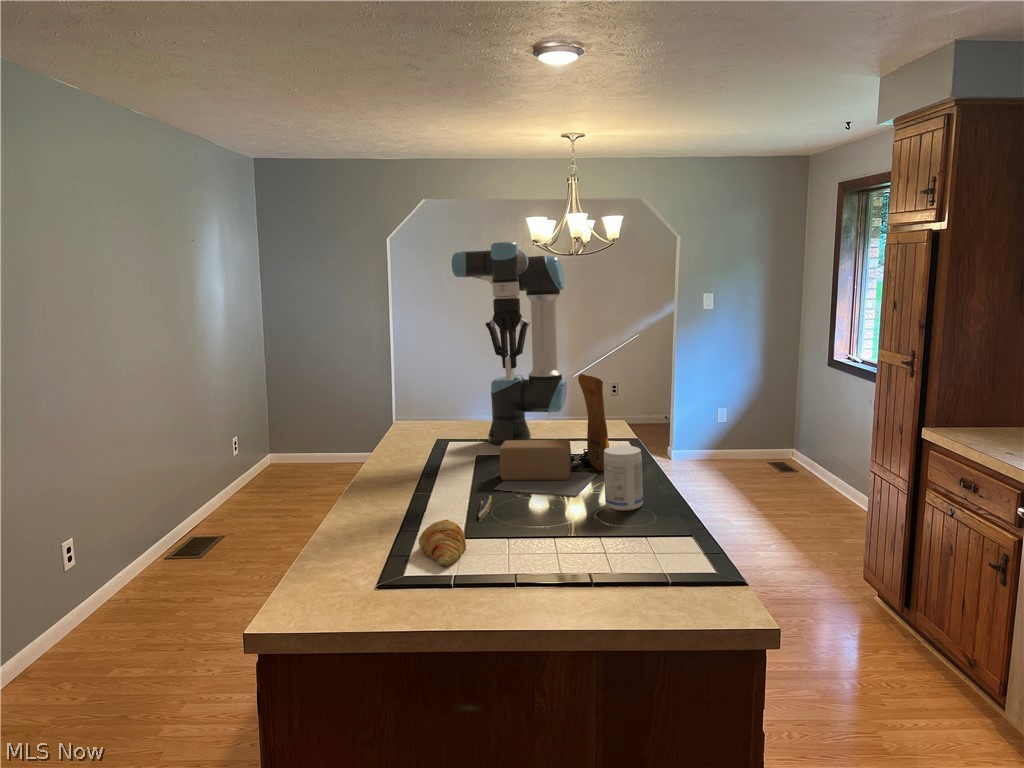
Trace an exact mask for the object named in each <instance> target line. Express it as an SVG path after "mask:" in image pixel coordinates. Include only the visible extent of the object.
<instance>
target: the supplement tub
mask: <svg viewBox="0 0 1024 768" xmlns="http://www.w3.org/2000/svg"><path fill="white" fill-rule="evenodd" d="M641 451H642V450H641V448H639V447H637V446H632V445H614V446H609V448H606V449H605V450H604V471H603V473H604V474H603V475H604V476H603V478H604V479H603V480H604V498H605V499H604V500H605V505H606V506H607V508H610V509H611V510H614V511H622V512H623V511H624V512H625V511H632V510H633V511H634V510H636V509H639V508H640V507H642V506H643V503H644V496H643V494H644V491H643V486H644V485H643V462H642V461H643V460H642V459H643V458H642V452H641Z"/></svg>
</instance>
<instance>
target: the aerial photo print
mask: <svg viewBox="0 0 1024 768" xmlns="http://www.w3.org/2000/svg"><path fill="white" fill-rule="evenodd" d="M492 496H493V495H484V497H483V500H481V502H480V505H479V510H478V518H479V520H478V523H480V522H481V521H482V520H483V519H484V518H485V517H486V515H487V514H488V512H489V510H490V507H491V502H492ZM514 496H516V497H522V496H524V497H529V498H527V499H531V498H532V494H530V495H529V494H525V495H524V494H523V495H522V494H518V495H517V494H515V495H514V494H513V497H514ZM516 497H515V498H516ZM527 499H526V500H527ZM481 523H482V522H481Z"/></svg>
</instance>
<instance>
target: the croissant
mask: <svg viewBox="0 0 1024 768" xmlns="http://www.w3.org/2000/svg"><path fill="white" fill-rule="evenodd" d="M418 545H419V548H420V549H421V550H422V551H423V553H424V554H425V555H427V557H429V558H431V559H432V560H433V561H435V562H437V563H438V564H439V565H441V566H443V567H446V566H449V565H452V564H453V563H455V562H456V561H458V559H459V558H460V557H461V556H462V555H463V553H465V552H466V550H467V541H466V536H465V534H464V531H463V529H462V528H461V527H460V526H459V525H458V523H456V522H454V521H452V520H449V519H442V520H439V521H436V522H434V523H431V524H430V525H429V526H428V527H426V529H424V530H423V531H422V533H421V534H420V536H419V537H418Z"/></svg>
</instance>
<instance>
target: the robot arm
mask: <svg viewBox="0 0 1024 768" xmlns="http://www.w3.org/2000/svg"><path fill="white" fill-rule="evenodd" d="M451 271H452V273H453V275H454V277H457V278H474V279H478V280H482V281H486V282H488V283H489V284H491V285H492V295H493V297H494V299H493V300H492V303H493V305H492V306H493V316H492V319H491V320H489V321H488V322H485V326H486V329H487V330H488V332H489V335H490V339H491V342H492V346H493V351H494V353H495V355H496V356H499V357H501V360H502V362H501V363H502V369H505V376H501V377H498V378H494V379H493V380H492V381H491V384H490V385H491V386H490V388H491V389H490V394H491V395H490V396H491V398H490V399H491V412H492V413H491V416H492V418H491V419H492V420H491V425H490V428H489V433H488V443H489V444H492V445H496V446H497V445H498V446H502V444H503V442H504V441H506V440H532V437H531V436H532V435H531V432H530V429H529V426H528V423H527V421H526V413H547V414H550V413H559V412H561V411H562V410H563V408H564V406H565V404H566V400H567V399H566V398H567V390H568V382H567V381H568V380H566V379H565V378H563V375H562V372H561V371H560V370H559V369H558V347H557V346H558V344H557V341H558V340H557V303H556V301H557V299H558V298H559V297H560V295H561V291H562V290H564V289H565V274H564V269H563V265H562V263H561V260H560V258H559V257H557V256H556V255H546V254H545V255H537V256H535V255H534V256H533V255H532V256H528V255H527V254H526V252H524V251H523V250H521V249H518V244H517V243H516V241H504V242H503V241H501V242H493V243H492V244H491V246H490V250H471V251H470V250H469V251H465V250H464V251H457V252H454V253H453V254H452V257H451ZM520 292H525V294H526V297H527V299H529V300H530V316H531V317H530V319H531V322H530V321H528V320H525V319H524V318H523V316H522V314H521V298H520V297H519V296H520ZM530 325H531V348H532V349H531V351H532V352H531V353H532V355H531V356H532V370H531V371H530V372H529V373H528V379H526V378H525V377H524V374H515V369H517V365H518V364H517V357H518V356H520V355H522V354H523V353H524V352H523V351H524V346H525V341H526V335H527V332H528V328H529V327H530ZM496 326H497V327H498V330H499V334H500V335H498V332H497V331H498V330H497V328H496ZM518 326H519V327H520V329H519V333H518V338H517V335H516V334H517V327H518ZM499 336H500V339H499ZM508 344H509V345H508Z"/></svg>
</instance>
